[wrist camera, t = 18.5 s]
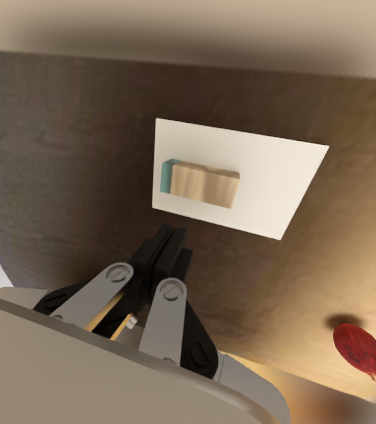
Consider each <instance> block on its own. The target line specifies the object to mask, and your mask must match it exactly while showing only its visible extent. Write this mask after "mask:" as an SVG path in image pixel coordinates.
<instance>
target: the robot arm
mask: <svg viewBox="0 0 376 424" xmlns="http://www.w3.org/2000/svg"><path fill="white" fill-rule="evenodd" d="M174 231H175V232H174ZM187 233H188V229H186V228H183V227H180V228H179V229H178V228H176V230H175V228H174V227H173V226H172V225H171V224H167V223H164V224H163V225H162V227H161V228H160V229H159V230H158V232H157V233H156V234H155V236H154V237H153V238H152V239H151V238H147V239H146V240H145V242H144V243H143V244H142V245H141V246H140V248H139V249H138V250H137V251H136V252H135V254H134V255H133V256H132V257H131V259H130V260H129V261H128V262H127V263H115V264H113V265H110V266H109V267H107V268H106V269H105V270H104V271H102V272H101V273H100V274H99V275H98V276H96V277H95V278H94V279H92V280H88V281H85V282H82V283H78V284H75V285H71V286H68V287H65V288H61V289H58V290H55V291H53V292H51V293H49V290H40V289H28V288H16V287H2V288H0V424H291V416H290V411H289V407H288V405H287V403H286V401H285V398H284V397H283V395H282V394H281V392H280V391H279V390H278V389H277V388H276V387H275V386H274V385H273V384H272V383H270V382H269V381H267V380H265V379H264V378H263V377H261V376H259V375H258V374H256V373H255V372H253V371H252V370H250V369H249V368H247V367H246V366H244V365H243V364H241V363H240V362H238V361H237V360H235V359H234V358H232V357H230V356H229V355H227V354H225V355H223V354H222V353H220V352H219V351H217V350H216V348H215V345H214V344H213V342H212V340H211V339H210V337H209V335H208V334H207V332H206V331H205V329H204V327H203V326H202V324H201V322H200V321H199V319H198V317H197V316H196V314H195V312H194V311H193V309H192V308H191V306H190V304H189V303H188V301H187V299H186V294H187V290H186V287H185V282H186V279H187V276H188V272H189V269H190V265H191V261H192V256H193V251H194V250H191V249H187V248H185V244H186V238H187ZM149 303H150V308H149V316H148V320H147V323H146V327H145V330H144V334H143V337H142V340H141V343H140V347H139V350H136V349H133V348H131V347H128V346H126V345H123V344H120V343H118V342H115V341H114V340H115V339H116V337H117V336H118V335H119V333H120V332H121V330H122V329H123V328H124V326H125V325H126V326H127V327H129V329H131V328H133V326H134V325H135V323H136V322H137V320H138V319H137V318H136V317H135V316H134V315H133V312H135V311H138V309H142V310H143V309H144V307H145V305H146V304H147V305H149Z"/></svg>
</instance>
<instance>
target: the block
mask: <svg viewBox="0 0 376 424" xmlns="http://www.w3.org/2000/svg"><path fill="white" fill-rule="evenodd" d="M239 182H240V174H239V172H234V171H229V170H224V169H220V168H215V167H210V166H205V165H201V164H196V163H191V162H186V161H181V160H177V159H170V160H168V161H165V162H163V163H162V171H161V184H160V192H163V193H167V194H171V195H176V196H180V197H184V198H188V199H192V200H196V201H200V202H204V203H208V204H212V205H216V206H220V207H225V208H229V209H231V208H232V204H233V201H234V198H235V195H236V192H237V189H238V186H239Z"/></svg>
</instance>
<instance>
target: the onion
mask: <svg viewBox="0 0 376 424" xmlns="http://www.w3.org/2000/svg"><path fill="white" fill-rule="evenodd" d="M333 339H334V343H335V346H336V348H337V350H338V351H339V353H340V354H341V355H342V356H343V357H344V359H345V360H346V361H347V362H348V363H350V364H351V365H352V366H354V367H355V368H357V369H359V370H360V371H363V372H365V373H367V374H368V375H370V376H371V377H372V379H373V380H374V381H376V340H375V339H374V338H373V336H372V335H370V334H369V333H368V332H366V331H365V330H363V329H362V328H360V327H358V326H355V325H352V324H348V323H342V324H340V325H339V326H337V328H336V329H335V331H334V333H333Z"/></svg>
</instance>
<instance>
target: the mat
mask: <svg viewBox="0 0 376 424" xmlns="http://www.w3.org/2000/svg"><path fill="white" fill-rule="evenodd" d="M328 148H329V146H325V145H319V144H313V143H307V142H301V141H295V140H288V139H282V138H276V137H270V136H264V135H258V134H251V133H245V132H239V131H233V130H227V129H220V128H214V127H208V126H202V125H196V124H190V123H183V122H177V121H171V120H165V119H159V118H156V132H155V155H154V177H153V200H152V208H156V209H160V210H164V211H168V212H172V213H176V214H180V215H184V216H188V217H192V218H195V219H199V220H203V221H207V222H211V223H215V224H219V225H223V226H227V227H231V228H235V229H239V230H243V231H247V232H251V233H255V234H258V235H262V236H266V237H270V238H274V239H278V240H281V238H282V236H283V234H284V232H285V230H286V228H287V226H288V224H289V222H290V220H291V219H292V217H293V215H294V213H295V211H296V209H297V207H298V205H299V203H300V201H301V199H302V198H303V196H304V194H305V192H306V190H307V188H308V186H309V184H310V182H311V180H312V178H313V177H314V175H315V173H316V171H317V169H318V167H319V165H320V163H321V161H322V159H323V157H324V156H325V154H326V152H327V150H328ZM170 159H177V160H181V161H186V162H191V163H196V164H201V165H205V166H210V167H215V168H220V169H224V170H229V171H234V172H239V174H240V182H239V186H238V189H237V192H236V195H235V198H234V201H233V204H232V208H231V209H229V208H225V207H220V206H216V205H212V204H208V203H204V202H200V201H196V200H192V199H188V198H184V197H180V196H176V195H171V194H167V193H163V192H160V184H161V171H162V163H163V162H165V161H168V160H170Z"/></svg>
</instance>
